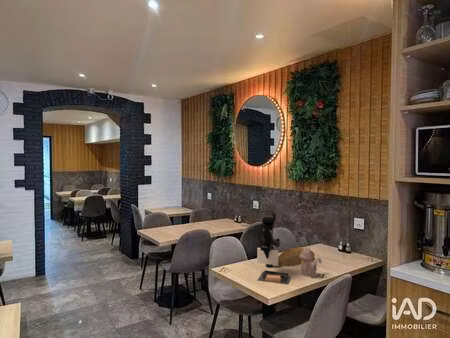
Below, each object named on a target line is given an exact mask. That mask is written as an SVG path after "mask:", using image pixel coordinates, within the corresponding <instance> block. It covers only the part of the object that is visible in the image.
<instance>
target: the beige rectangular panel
mask: <svg viewBox="0 0 450 338" xmlns="http://www.w3.org/2000/svg"><path fill="white" fill-rule="evenodd" d="M256 250H257V252H256V253H257V257H256V258H257V261H256V263H257V264H264V265H266V264H270V265H273V266H278V256H279V249H275V248H274V249H271V251H270V252H269V257H268V259H267V258H266V256H265V254H264V251H261V247H257V249H256Z"/></svg>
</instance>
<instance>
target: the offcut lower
mask: <svg viewBox="0 0 450 338" xmlns="http://www.w3.org/2000/svg"><path fill="white" fill-rule="evenodd" d="M266 277H267V276H266ZM281 281H282V278H280V281H277V280H266V278H265V282H264V283H271V282H272V283H274V284H279V283H280V285H282V284H281Z"/></svg>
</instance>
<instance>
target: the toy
mask: <svg viewBox="0 0 450 338" xmlns="http://www.w3.org/2000/svg"><path fill="white" fill-rule="evenodd" d="M303 248H304V250H303V251H301V253H300V255H299V257H300V258H301V264H300V270H301V274H302V275H303V276H304V277H310V279H314V278H317V268H318V267H317V264H318V263H319V264H322V263H323V261H322V258H321V257H320V256H319V257H315V260H314V261H312V259H313V256H312V253H311V251H312V249H310V247H307V246H304V247H303Z"/></svg>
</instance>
